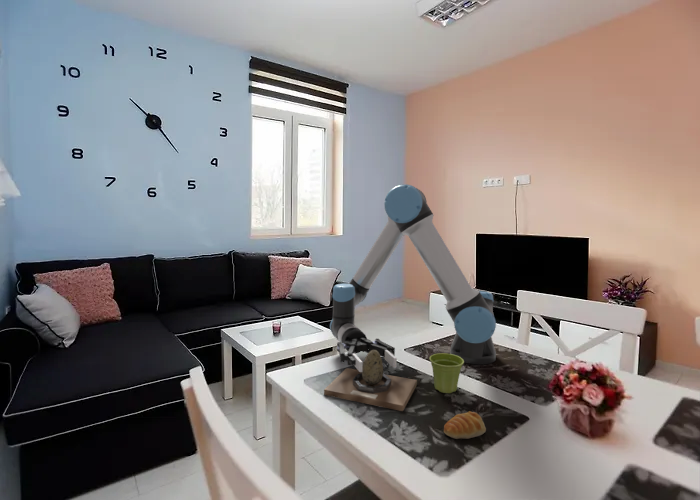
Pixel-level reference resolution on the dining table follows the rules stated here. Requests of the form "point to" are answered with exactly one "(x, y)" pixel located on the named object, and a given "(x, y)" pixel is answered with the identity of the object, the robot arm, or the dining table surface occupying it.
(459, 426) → the pastry
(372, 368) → the decorative egg
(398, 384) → the walnut board
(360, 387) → the ring socket
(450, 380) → the plant pot
